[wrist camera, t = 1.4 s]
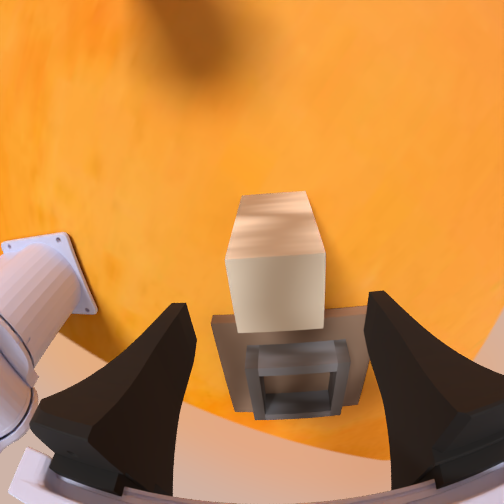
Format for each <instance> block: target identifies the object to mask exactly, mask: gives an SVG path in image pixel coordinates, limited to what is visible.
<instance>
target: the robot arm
mask: <svg viewBox="0 0 504 504" xmlns="http://www.w3.org/2000/svg"><path fill="white" fill-rule="evenodd" d="M59 238H60V240H61V241H60V240H59ZM1 247H2V250H3V252H4V254H3V255H1V256H0V453H1V452H2V451H3V450H4V449H5V448H6V447H7V446H9V445H10V444H11V443H13V442H15V441H17V440H19V439H20V438H21V437H23V436H24V435H25V434H26V432H27V431H28V430H29V428H30V429H31V430H32V432H33V433H34V434H35V435H36V436H37V437H38V438H39V439H40V440H41V441H42V442H43V443H44V444H46V446H48V447H49V448H50V449H51V450H52V451H53V452H54V453H55V454H54V457H53V458H51V457H49V456H48V455H46V454H44V453H41V452H39V451H37V450H35V449H32V448H30V447H26V450H25V452H24V454H23V456H22V459H21V461H20V463H19V466H18V468H17V470H16V473H15V475H14V478H13V480H12V482H11V485H10V487H9V490H8V492H9V494H10V495H12V496H14V497H15V498H17V499H18V500H20V501H22V502H23V503H25V504H234V503H220V502H209V501H200V500H192V499H184V498H178V497H173V465H174V452H175V442H176V434H177V427H178V420H179V414H180V409H181V405H182V401H183V398H184V394H185V391H186V387H187V384H188V380H189V377H190V373H191V370H192V366H193V362H194V357H195V350H196V342H197V338H196V335H195V332H194V329H193V325H192V322H191V318H190V315H189V312H188V308H187V305H186V303H172V304H171V305H170V306H169V307H168V308H167V309H166V310H165V311H164V312H163V313H162V314H161V315H160V316H159V317H158V318H157V319H156V320H155V321H154V322H153V323H152V324H151V325H150V326H149V327H148V328H147V329H146V330H145V331H144V332H143V334H142V335H141V336H139V337H138V338H137V339H136V340H135V341H134V342H133V343H132V344H131V345H130V346H129V347H128V348H127V349H126V350H124V351H123V352H122V353H121V354H120V355H119V356H117V357H116V358H115V359H113V360H112V361H111V362H110V363H108V364H107V365H106V366H104V367H103V368H101V369H100V370H98V371H97V372H95V373H94V374H92V375H91V376H89V377H88V378H86V379H84V380H82V381H81V382H79V383H77V384H75V385H73V386H71V387H69V388H67V389H65V390H63V391H61V392H59V393H56V394H54V395H51V396H49V397H47V398H44V399H42V400H41V401H40V404H39V405H38V394H37V391H36V390H35V388H34V387H33V386H34V384H35V383H36V381H37V379H38V378H39V376H38V375H37V373H36V372H35V370H34V368H35V366H36V365H37V363H38V362H39V360H40V358H41V357H42V355H43V354H44V352H45V351H46V349H47V348H48V346H49V345H50V343H51V342H52V340H53V339H54V337H55V336H56V334H57V333H58V332H59V330H60V329H61V327H62V326H63V324H64V323H65V322H66V320H67V319H68V317H69V316H70V315H71V314H96V313H97V311H98V308H97V306H96V304H95V302H94V299H93V297H92V295H91V292H90V290H89V288H88V285H87V283H86V280H85V278H84V275H83V273H82V270H81V268H80V265H79V263H78V260H77V257H76V255H75V252H74V249H73V246H72V243H71V241H70V238H69V236H68V234H67V233H65V232H61V233H54V234H47V235H40V236H34V237H28V238H21V239H15V240H9V241H4V242H3V243H2V244H1ZM363 331H364V336H365V341H366V346H367V351H368V355H369V358H370V361H371V364H372V367H373V370H374V373H375V376H376V380H377V383H378V386H379V389H380V392H381V396H382V400H383V404H384V409H385V415H386V421H387V428H388V436H389V445H390V458H391V482H392V483H391V484H392V485H391V486H392V487H391V491H387V492H382V493H377V494H372V495H366V496H362V497H355V498H348V499H342V500H333V501H324V502H313V503H299V504H504V375H502V374H499V373H496V372H494V371H492V370H490V369H487V368H485V367H483V366H481V365H479V364H477V363H475V362H473V361H471V360H469V359H468V358H466V357H464V356H462V355H461V354H459V353H457V352H456V351H454V350H453V349H451V348H450V347H448V346H447V345H446V344H444V343H443V342H441V341H440V340H439V339H437V338H436V337H435V336H433V335H432V334H431V333H430V332H428V331H427V330H426V329H425V328H424V327H422V326H421V325H420V324H419V323H418V322H417V321H416V320H414V319H413V318H412V317H411V316H410V315H409V314H408V313H407V312H406V311H405V310H404V309H403V308H402V307H400V306H399V305H398V304H397V303H396V302H395V301H394V300H393V299H392V298H391V297H390V296H389V295H388V294H387V293H386V292H385V291H374V292H369V297H368V304H367V311H366V318H365V324H364V330H363Z"/></svg>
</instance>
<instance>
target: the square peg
mask: <svg viewBox="0 0 504 504" xmlns="http://www.w3.org/2000/svg"><path fill="white" fill-rule="evenodd" d="M225 264H226V270H227V276H228V281H229V287H230V293H231V298H232V304H233V309H234V315H235V320H236V325H237V331H238V333H253V332H276V331H293V330H308V329H321V328H323V326H324V304H325V271H326V252H325V249H324V246H323V243H322V239H321V236H320V233H319V230H318V227H317V224H316V221H315V218H314V215H313V212H312V209H311V206H310V203H309V200H308V197H307V194H306V191H299V192H284V193H270V194H257V195H245V196H242V197H241V201H240V205H239V208H238V212H237V216H236V219H235V223H234V227H233V230H232V234H231V238H230V242H229V245H228V249H227V253H226V257H225Z"/></svg>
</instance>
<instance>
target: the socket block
mask: <svg viewBox="0 0 504 504" xmlns="http://www.w3.org/2000/svg"><path fill="white" fill-rule="evenodd" d="M366 311H367V306H358V307H347V308H335V309H324V326H323V328H321V329H308V330H293V331H276V332H253V333H238V331H237V325H236V320H235V315H213V317H212V321H211V326H212V330H213V334H214V338H215V342H216V346H217V349H218V353H219V357H220V361H221V364H222V368H223V372H224V375H225V379H226V382H227V386H228V389H229V393H230V396H231V400H232V403H233V407H234V410H235V412H253V413H254V417H255V420H279V419H299V418H313V417H324V416H334V415H340V414H341V409H342V406H350V405H358V402H359V399H360V395H361V391H362V388H363V384H364V380H365V376H366V372H367V368H368V364H369V359H370V358H369V355H368V351H367V346H366V341H365V336H364V331H363V330H364V324H365V318H366Z"/></svg>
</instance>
